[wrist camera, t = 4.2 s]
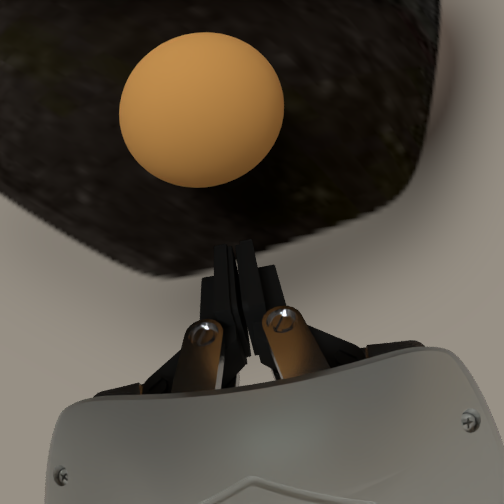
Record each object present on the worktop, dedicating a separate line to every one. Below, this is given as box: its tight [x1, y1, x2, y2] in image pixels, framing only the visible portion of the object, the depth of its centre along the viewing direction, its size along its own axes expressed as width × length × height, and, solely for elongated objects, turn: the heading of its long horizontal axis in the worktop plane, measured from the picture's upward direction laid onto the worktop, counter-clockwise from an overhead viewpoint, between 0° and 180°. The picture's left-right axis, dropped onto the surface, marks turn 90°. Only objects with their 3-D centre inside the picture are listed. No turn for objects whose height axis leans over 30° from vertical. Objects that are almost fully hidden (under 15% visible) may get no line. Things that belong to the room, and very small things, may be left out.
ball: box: [119, 32, 284, 188], centre depth 7 cm, size 5×5×5 cm
